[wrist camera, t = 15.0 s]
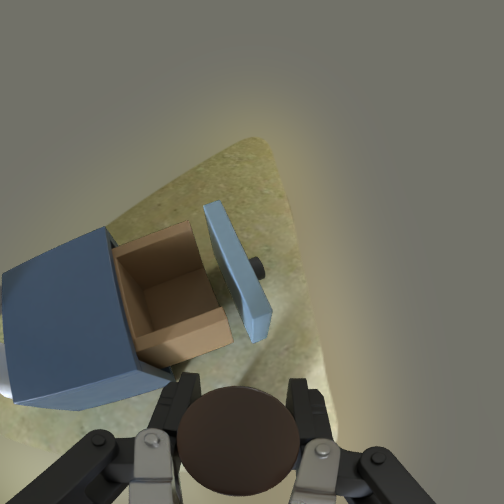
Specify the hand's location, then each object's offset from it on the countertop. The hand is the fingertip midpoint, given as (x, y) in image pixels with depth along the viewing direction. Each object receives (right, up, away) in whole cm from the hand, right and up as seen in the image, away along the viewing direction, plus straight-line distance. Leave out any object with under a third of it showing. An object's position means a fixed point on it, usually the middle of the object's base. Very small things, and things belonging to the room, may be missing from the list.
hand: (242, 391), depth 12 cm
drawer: (-3, +2, +11) cm, 11 cm away
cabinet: (-11, -1, +10) cm, 15 cm away
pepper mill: (0, -6, +7) cm, 9 cm away
